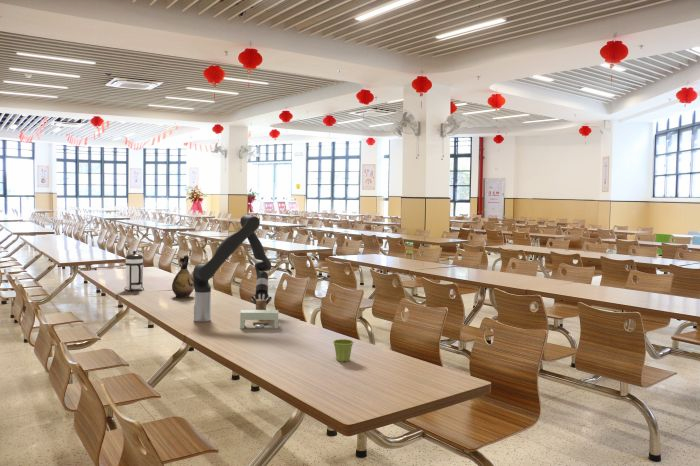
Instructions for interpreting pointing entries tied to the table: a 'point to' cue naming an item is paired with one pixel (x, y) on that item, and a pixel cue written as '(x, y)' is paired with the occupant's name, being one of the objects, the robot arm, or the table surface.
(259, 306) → the brown wooden block
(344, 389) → the table surface
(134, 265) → the coffee press
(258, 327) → the disc
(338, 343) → the plant pot
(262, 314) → the pale green bench
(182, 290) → the ceramic jug
